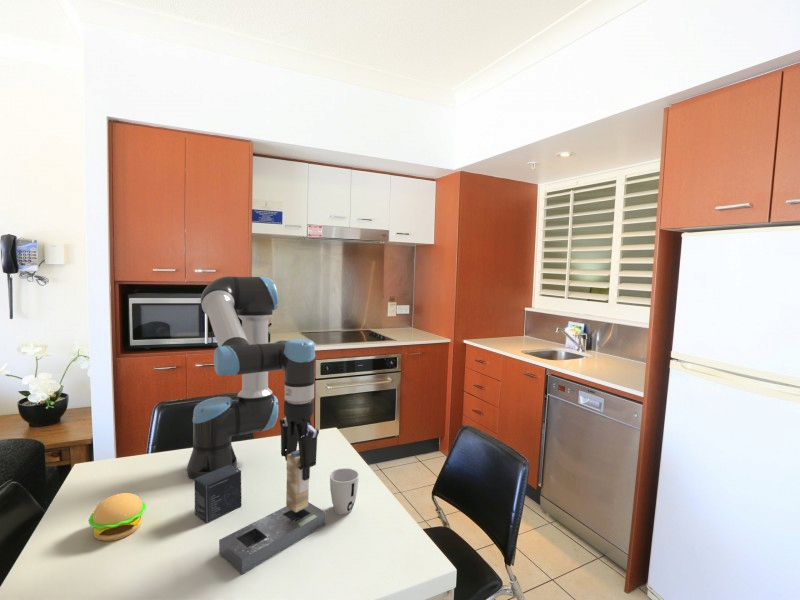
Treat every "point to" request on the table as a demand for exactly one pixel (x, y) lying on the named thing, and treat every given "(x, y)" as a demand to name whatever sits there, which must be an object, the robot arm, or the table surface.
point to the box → (217, 493)
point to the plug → (295, 484)
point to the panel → (269, 536)
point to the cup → (343, 489)
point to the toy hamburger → (117, 516)
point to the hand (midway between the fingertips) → (297, 487)
